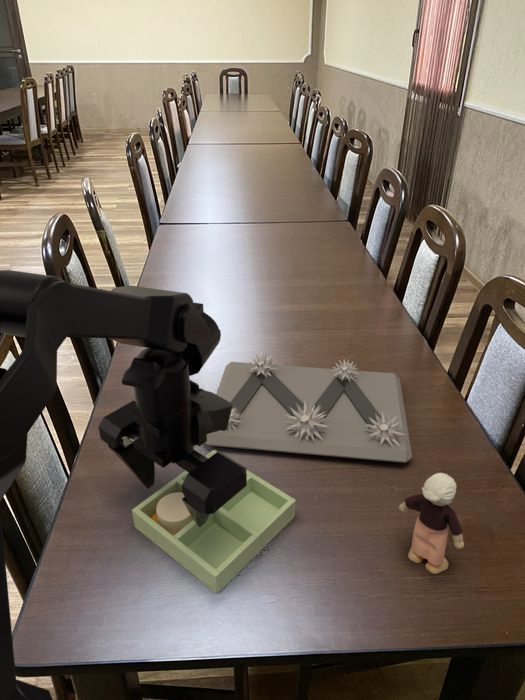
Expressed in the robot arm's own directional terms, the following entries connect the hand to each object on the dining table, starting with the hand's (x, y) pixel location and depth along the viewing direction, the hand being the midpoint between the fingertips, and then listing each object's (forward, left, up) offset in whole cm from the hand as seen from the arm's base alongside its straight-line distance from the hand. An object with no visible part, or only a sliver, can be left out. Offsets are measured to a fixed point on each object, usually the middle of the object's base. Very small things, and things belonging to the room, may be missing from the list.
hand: (175, 504), depth 65 cm
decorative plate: (+28, +1, -4) cm, 29 cm away
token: (0, 0, -3) cm, 3 cm away
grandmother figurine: (+15, -25, -4) cm, 30 cm away
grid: (+3, -3, -4) cm, 6 cm away
